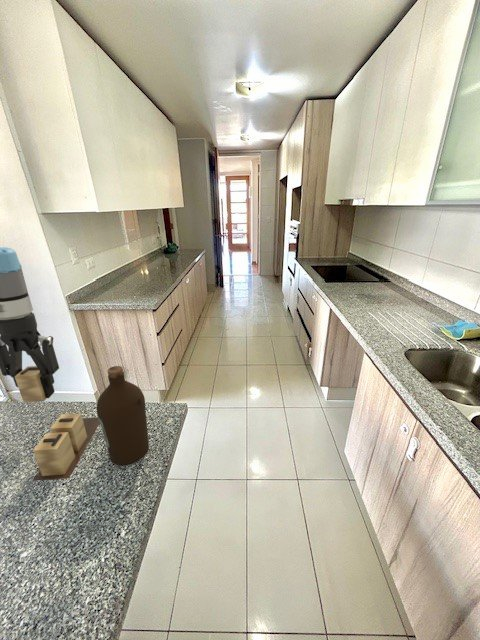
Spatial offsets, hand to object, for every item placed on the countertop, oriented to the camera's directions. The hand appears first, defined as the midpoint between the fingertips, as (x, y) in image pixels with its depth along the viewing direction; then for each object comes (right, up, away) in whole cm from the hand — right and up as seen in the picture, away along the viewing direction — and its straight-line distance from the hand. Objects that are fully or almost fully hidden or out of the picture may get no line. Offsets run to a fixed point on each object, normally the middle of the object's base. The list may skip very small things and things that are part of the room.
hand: (39, 395), depth 70 cm
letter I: (+10, -13, -1) cm, 16 cm away
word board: (+10, -13, -1) cm, 17 cm away
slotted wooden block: (0, 0, 0) cm, 0 cm away
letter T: (+11, -15, -7) cm, 20 cm away
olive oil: (+26, -14, -2) cm, 29 cm away
